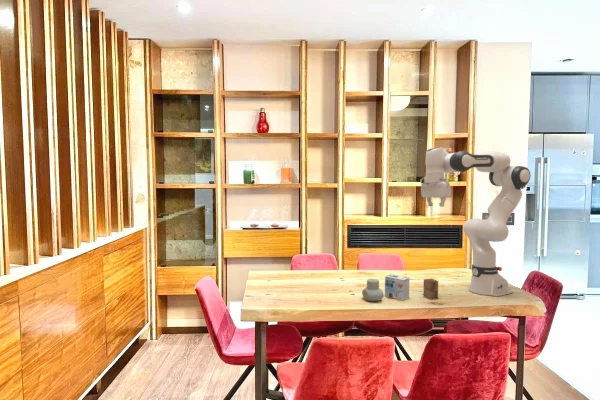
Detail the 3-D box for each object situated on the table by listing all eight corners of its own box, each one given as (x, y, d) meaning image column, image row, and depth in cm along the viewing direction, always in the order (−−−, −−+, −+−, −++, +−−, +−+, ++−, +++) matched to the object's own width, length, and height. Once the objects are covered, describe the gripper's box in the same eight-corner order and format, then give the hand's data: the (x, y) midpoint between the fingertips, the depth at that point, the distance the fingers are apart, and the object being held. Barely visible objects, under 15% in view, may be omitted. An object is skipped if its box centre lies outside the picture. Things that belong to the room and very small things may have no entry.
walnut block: (431, 295, 194) (431, 278, 194) (437, 298, 190) (438, 281, 189) (423, 296, 193) (423, 279, 192) (429, 299, 188) (429, 281, 188)
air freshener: (360, 297, 192) (360, 278, 191) (375, 296, 194) (375, 276, 193) (370, 303, 181) (370, 283, 181) (385, 302, 183) (385, 282, 183)
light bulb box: (384, 296, 193) (384, 275, 193) (390, 293, 198) (391, 273, 197) (403, 300, 186) (403, 279, 185) (409, 297, 191) (409, 277, 190)
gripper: (453, 177, 181) (454, 206, 181) (428, 180, 201) (429, 205, 201) (442, 178, 179) (443, 206, 179) (418, 180, 199) (419, 206, 199)
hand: (436, 206), depth 190 cm, fingers open, 8 cm apart
